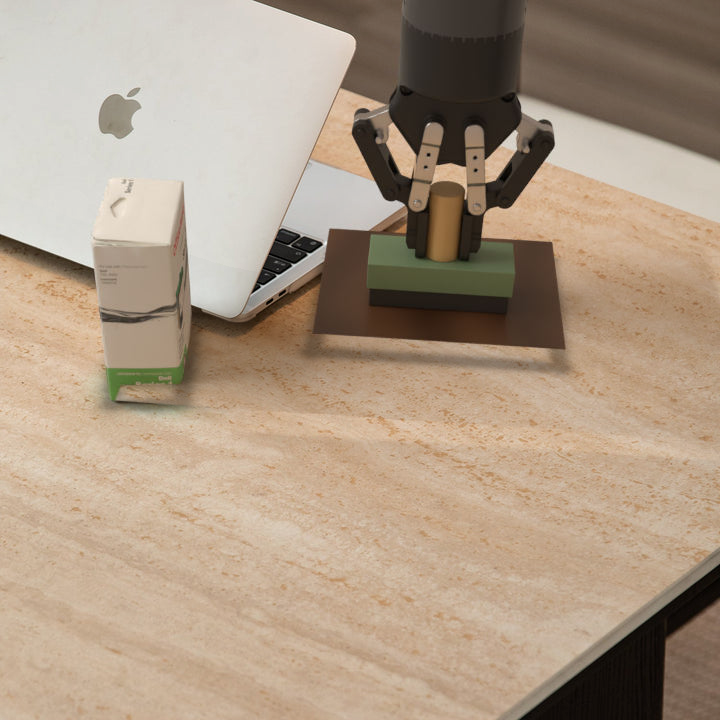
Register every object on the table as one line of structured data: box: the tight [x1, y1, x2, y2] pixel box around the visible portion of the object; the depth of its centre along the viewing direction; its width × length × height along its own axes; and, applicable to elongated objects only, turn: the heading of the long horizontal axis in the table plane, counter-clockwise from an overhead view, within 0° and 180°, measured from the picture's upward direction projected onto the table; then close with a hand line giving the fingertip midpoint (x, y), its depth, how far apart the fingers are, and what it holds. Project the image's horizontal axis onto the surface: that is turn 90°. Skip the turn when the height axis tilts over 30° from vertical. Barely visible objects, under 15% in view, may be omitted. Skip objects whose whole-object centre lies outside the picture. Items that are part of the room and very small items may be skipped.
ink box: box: [90, 176, 193, 402], centre depth 79 cm, size 9×5×12 cm, turn 1°
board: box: [312, 227, 566, 350], centre depth 89 cm, size 17×14×2 cm
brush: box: [367, 180, 515, 314], centre depth 85 cm, size 10×4×8 cm, turn 86°
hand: (442, 252), depth 86 cm, fingers closed on brush, 2 cm apart
